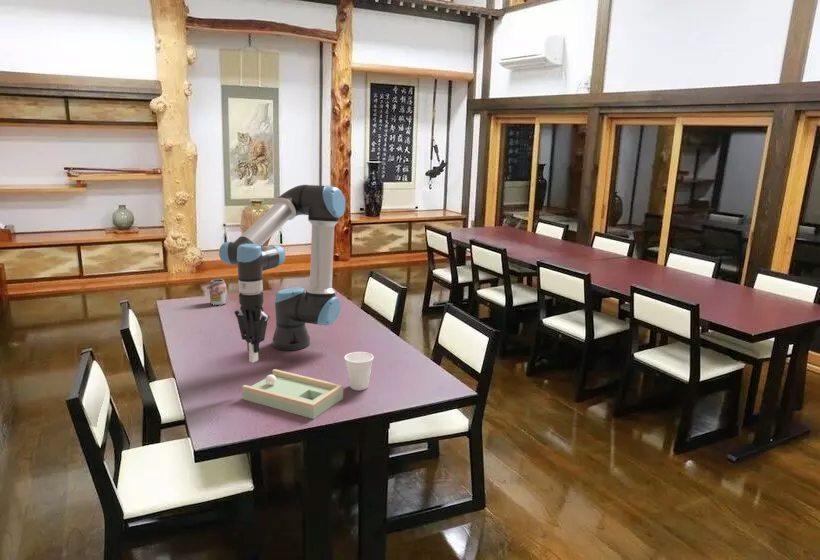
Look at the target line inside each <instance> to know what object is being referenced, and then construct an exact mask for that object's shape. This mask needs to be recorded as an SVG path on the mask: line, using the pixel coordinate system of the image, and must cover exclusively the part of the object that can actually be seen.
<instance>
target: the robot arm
mask: <svg viewBox="0 0 820 560" xmlns="http://www.w3.org/2000/svg"><path fill="white" fill-rule="evenodd" d="M345 211H346V198H345V196H344V194H343V192H342V190H341V189H340V188H338V187H337V186H333V185H332V186H331V185H313V184H301V185H296V186H294V187H292V188H290V189H288V190H287V191H284V192H283V193H282V194H281V195H279V196H278V197H276V199H275V200H274V201H273V206H271V207H270V208H269V209H268V210H267V211H266V212H264V213H263V214H262V216H260V217H259V218H258V219H257V220H256V221H255V222H254V223H253V224H251V226H249V228H248V229H246V230H245V231H244V232H243V233H242V234H241V235H240V236H239V237H237V238H236V239H235V240H234V241H225V242H223V243H222V244H221V245H220V248H219V250H218V256H219V259H220V260H221V262H223V263H224V264H229V265H232V266H233V265H234V266H237V275H238V276H237V277H238V278H237V279H238V292H239V293H238V302H239V305H240V308H239V309H238V310H234V314H235V317H236V319H237V323H238V328H239V333H240V336H241V340H243V341H244V340H245V342H246V344H247V346H246V347H247V352H248V358H249V359H248V361H249V363H255V362H258V361H259V352H260V343H262V342H264V341H265V337H266V331H267V325H268V321H269V320H270V314H266V313H265V312H264V308H263V304H264V292H263V291H264V288H263V287H264V286H263V285H264V283H263V272H264V271H267V270H270V269H271V270H272V269H275V268H277V267H278V266H281V265H283V264H284V262H285V260H286V252H285V249H284V248H283V247H282V246H281V245H279V244H268V245H264V244H266V242H268V240H269V239H271V237H272V236H273V235H275V234H276V232H277V231H279V230H280V229H281V228H282V227H283V226H284V225H285V224H286V223H287V222H288V221H291V220H294V219H295V218H296V217H297V216H307V220H308V222H309V223H310V224H311V240H310V241H311V243H310V244H311V245H310V246H311V247H310V271H309V286H308V287H307V288H306V289H305V288H303V287H299V286H298V287H295V286H294V287H287V288H284V289H281V290H278V291H277V292H276V293H275V294H274V295H275V296H274V304H275V305H274V306H275V307H274V309H275V326H276V327H275V330H274V333H273V337H272V348H275V349H277V350H281V351H297V350H301V349H305V348H307V347H309V346H310V345H311V336H310V335H309V332H308V331H309V330H308V329H307V326H306V324H311V325H318V326H321V327H322V326H327V327H329V326H332V325H333V324H335V323H336V321H337V320H338V318H339V316H340V313H341V308H342V303H341V302H342V301H341V300H340V298H339V297H338V296H336V290H335V288H333V269H334V267H333V265H334V247H335V246H334V244H335V226H336V225H337V224H338V223H339V221H340V220H339V218H341V217H343V216H344V214H345Z"/></svg>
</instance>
